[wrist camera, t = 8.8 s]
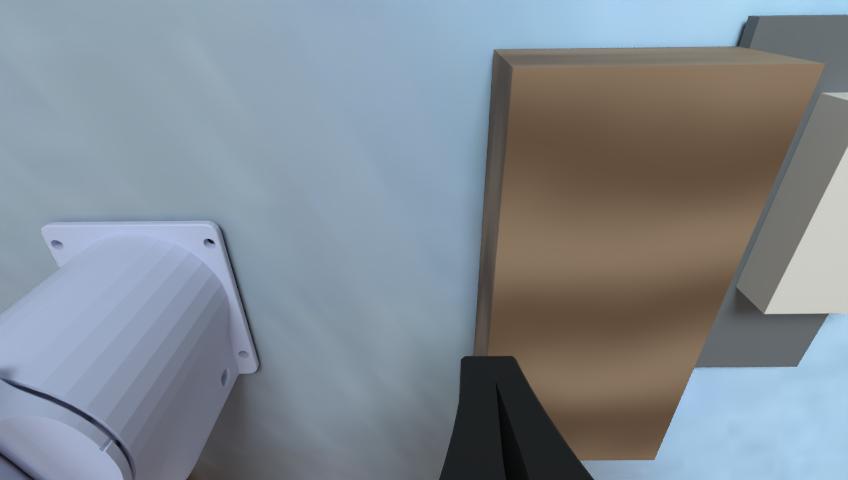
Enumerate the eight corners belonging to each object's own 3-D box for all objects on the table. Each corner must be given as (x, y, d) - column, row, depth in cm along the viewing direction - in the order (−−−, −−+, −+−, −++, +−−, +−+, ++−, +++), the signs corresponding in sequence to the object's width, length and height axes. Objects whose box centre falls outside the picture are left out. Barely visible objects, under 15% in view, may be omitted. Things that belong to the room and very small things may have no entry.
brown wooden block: (623, 395, 26) (654, 459, 22) (471, 397, 26) (478, 460, 22) (738, 46, 16) (825, 63, 12) (493, 49, 16) (513, 67, 13)
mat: (789, 358, 24) (796, 366, 23) (635, 359, 24) (639, 367, 24) (989, 12, 15) (1009, 13, 15) (748, 16, 15) (759, 17, 15)
